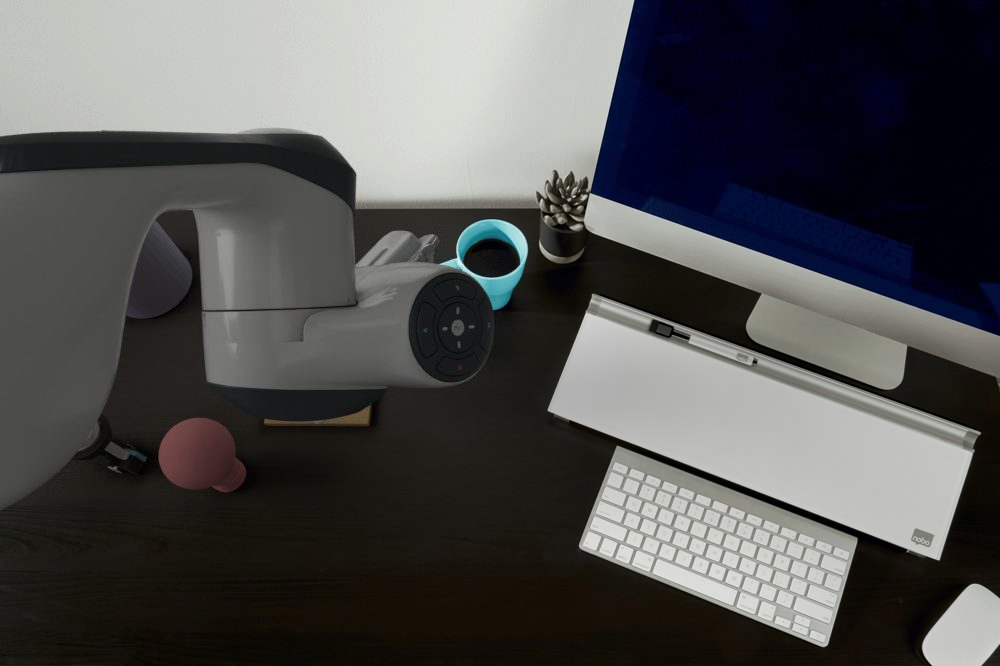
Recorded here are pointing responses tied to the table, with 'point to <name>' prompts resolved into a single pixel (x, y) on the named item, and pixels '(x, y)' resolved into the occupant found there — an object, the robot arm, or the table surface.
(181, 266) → the container
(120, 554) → the table surface
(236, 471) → the light bulb
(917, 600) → the table surface
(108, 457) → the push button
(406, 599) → the table surface
